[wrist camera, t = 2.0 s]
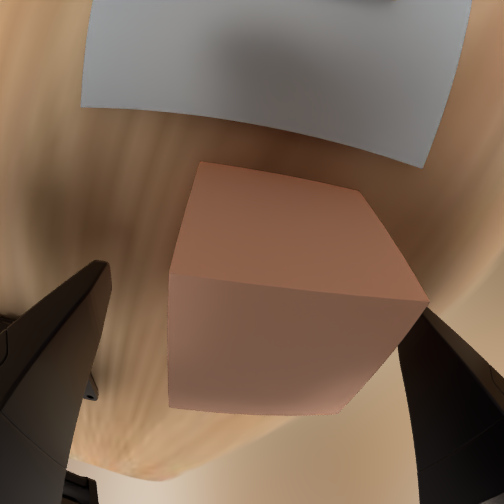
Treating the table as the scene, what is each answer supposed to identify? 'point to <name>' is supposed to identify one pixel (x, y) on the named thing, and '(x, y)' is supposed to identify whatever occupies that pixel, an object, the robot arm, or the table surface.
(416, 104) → the build plate
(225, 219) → the top brick
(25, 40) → the table surface
